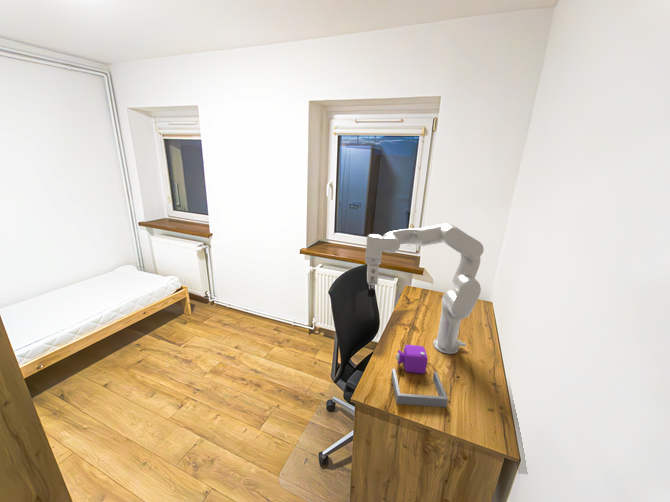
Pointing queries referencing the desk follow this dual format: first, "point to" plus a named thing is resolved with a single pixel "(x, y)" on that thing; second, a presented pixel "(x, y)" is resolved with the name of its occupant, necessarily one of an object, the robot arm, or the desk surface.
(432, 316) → the desk surface
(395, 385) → the cradle
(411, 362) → the toy camera
